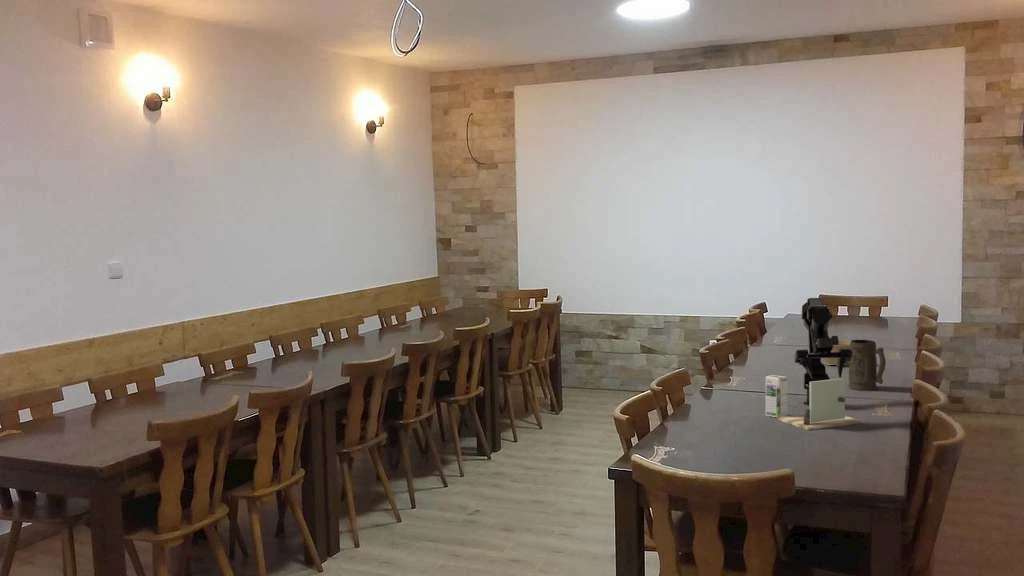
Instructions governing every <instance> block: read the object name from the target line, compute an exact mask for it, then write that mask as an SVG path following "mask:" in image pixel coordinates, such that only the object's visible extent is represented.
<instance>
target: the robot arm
mask: <svg viewBox="0 0 1024 576" xmlns="http://www.w3.org/2000/svg"><path fill="white" fill-rule="evenodd" d="M831 319H833V314H832V311H830V308H829V307H828V306H827V305H825V304H824V303H823V302H822V298H820V297H808V298H807V299H806V302H805V303H804V304H803V305H802V306H801V320H803V325H804V327H805V328H806V330H807V335H808V337H807V338H808V349H796V350H795V353H794V355H793V357H794V363H796V364H798V365H800V366H802V368H804V369H805V373H803V390H806V401H803V402H802V403H803V404H805V405H807V406H809V382H813V381H822V380H831V379H830V376H829V374H828V373H827V371H826V365H825V363H822V358H838V367H837V370H838V371H837V373H838V379H840V378H842V375H843V369H844V366H843V365H844V364H846V363H849V361H850V360H851V358H852V356H853V354H852V350H851V349H850V348H846V349H839V351H838V352H831V351H832V350H833V345H838V344H839V341H838V340H839V335H832V336H831V337H830V336H829V330H828V329H829V326H830V321H831ZM846 365H847V364H846Z"/></svg>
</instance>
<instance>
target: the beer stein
mask: <svg viewBox="0 0 1024 576" xmlns="http://www.w3.org/2000/svg"><path fill="white" fill-rule="evenodd" d="M850 341H851V342H850V349H851V350H852V354H853V356H852V358H851V360H850V361H849V362H848V366H849V367H848V380H849V381H848V382H849V384H848V388H849V389H851V390H854V389H855V390H854V391H861V390H867V391H866V392H868V390H870V391H875V390H877V388H878V387H877V383H878V384H880V385H882V384H883V383H884V380H883V374H884V372H885V369H886V357H885V354H884V347H878V348H877V344H876V341H874V340H870V339H869V340H868V339H852V340H850ZM876 355H878V356H879V366H878V371H877V364H878V362H877V356H876Z"/></svg>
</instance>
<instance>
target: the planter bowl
mask: <svg viewBox="0 0 1024 576" xmlns="http://www.w3.org/2000/svg"><path fill="white" fill-rule="evenodd" d="M838 341H839V344H838V345H833V350H832V351H831V352H838V351H839V349H846V348H850V342H851V341H852V340H845V339H844V340H842V339H841V340H840V339H838ZM821 360H823V361H824V365H825V364H827V365H826V366H828V365H836V366H835V367H837V366H838V358H821ZM847 363H848V362H847ZM847 363H846V364H844V365H845V366H847Z"/></svg>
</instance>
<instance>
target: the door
mask: <svg viewBox="0 0 1024 576" xmlns="http://www.w3.org/2000/svg"><path fill="white" fill-rule="evenodd" d="M845 402H846V378H845V377H843V378H842V377H841V378H833V379H830V380H822V381H813V382H809V405H808V406H809V408H808V409H809V410H810V423H814V422H822V421H829V420H837V419H845V416H846V413H845V412H846V407H845V406H846V403H845Z"/></svg>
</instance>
